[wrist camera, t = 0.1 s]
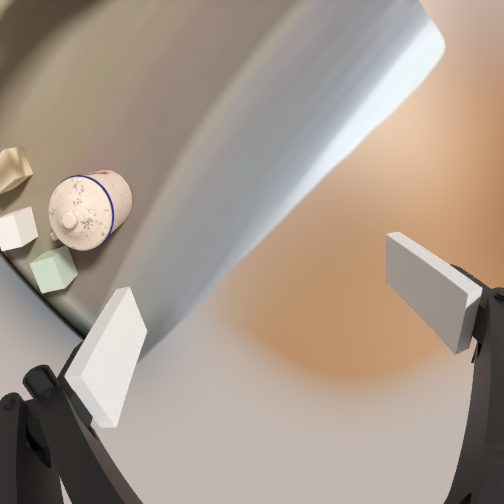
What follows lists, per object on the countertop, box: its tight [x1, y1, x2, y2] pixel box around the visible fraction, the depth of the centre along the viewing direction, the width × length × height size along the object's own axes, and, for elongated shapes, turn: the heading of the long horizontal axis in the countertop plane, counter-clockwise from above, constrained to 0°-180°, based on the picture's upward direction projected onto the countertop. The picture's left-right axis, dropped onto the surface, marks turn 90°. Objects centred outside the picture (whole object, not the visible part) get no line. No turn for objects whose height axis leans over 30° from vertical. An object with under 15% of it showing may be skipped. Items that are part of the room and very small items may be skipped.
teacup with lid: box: [49, 170, 132, 251], centre depth 34 cm, size 12×9×12 cm
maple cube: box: [0, 147, 33, 194], centre depth 34 cm, size 5×5×5 cm
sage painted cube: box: [30, 246, 78, 293], centre depth 40 cm, size 5×5×5 cm
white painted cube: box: [0, 207, 38, 251], centre depth 37 cm, size 5×5×5 cm
